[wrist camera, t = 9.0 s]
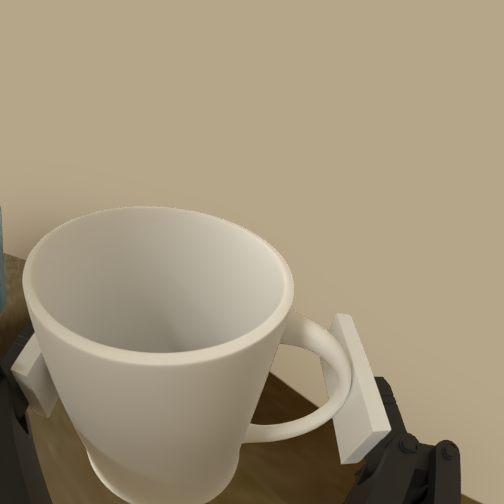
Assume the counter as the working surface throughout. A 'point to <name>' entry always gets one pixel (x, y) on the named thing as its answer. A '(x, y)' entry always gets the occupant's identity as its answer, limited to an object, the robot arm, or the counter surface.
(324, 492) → the counter surface
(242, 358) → the mug
